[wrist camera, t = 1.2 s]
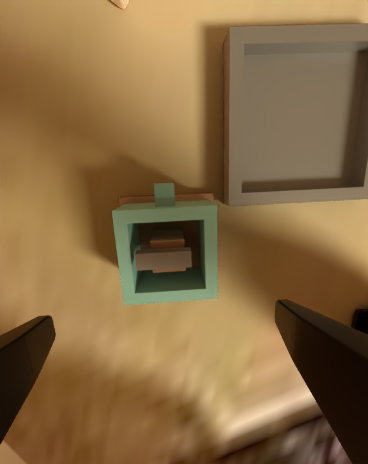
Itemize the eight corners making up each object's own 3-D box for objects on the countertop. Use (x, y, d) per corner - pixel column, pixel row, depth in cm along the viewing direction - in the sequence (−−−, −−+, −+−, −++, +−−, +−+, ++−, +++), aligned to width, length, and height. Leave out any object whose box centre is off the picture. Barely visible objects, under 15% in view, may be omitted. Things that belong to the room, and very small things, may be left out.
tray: (353, 196, 20) (373, 198, 18) (223, 203, 19) (228, 206, 17) (376, 40, 17) (402, 22, 15) (223, 44, 16) (229, 26, 14)
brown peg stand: (213, 276, 21) (226, 308, 16) (130, 281, 21) (116, 315, 16) (211, 192, 19) (226, 198, 14) (120, 197, 19) (100, 204, 14)
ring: (209, 275, 20) (218, 298, 16) (133, 280, 20) (123, 305, 16) (207, 180, 18) (217, 180, 14) (122, 184, 18) (108, 186, 14)
